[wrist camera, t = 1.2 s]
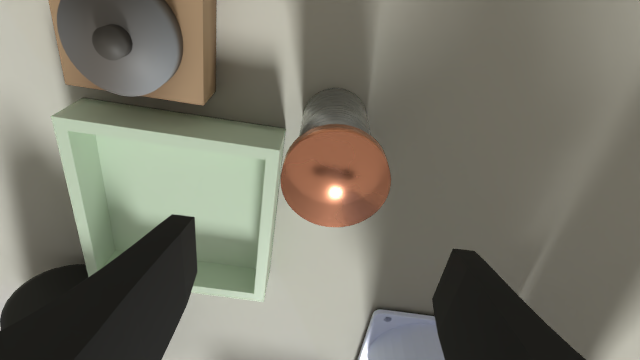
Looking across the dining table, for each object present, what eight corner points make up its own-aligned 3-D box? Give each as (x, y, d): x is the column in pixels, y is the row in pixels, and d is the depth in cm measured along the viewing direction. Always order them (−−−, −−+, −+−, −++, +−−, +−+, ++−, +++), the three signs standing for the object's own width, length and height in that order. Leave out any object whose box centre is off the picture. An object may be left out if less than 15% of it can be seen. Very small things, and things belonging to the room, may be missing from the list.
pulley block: (216, -24, 16) (188, -18, 13) (215, 91, 18) (192, 118, 15) (71, -48, 16) (6, -49, 12) (90, 71, 18) (41, 96, 15)
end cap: (54, 246, 24) (-34, 338, 18) (165, 270, 25) (115, 366, 19) (65, 340, 29) (-1, 436, 23) (158, 358, 30) (116, 454, 24)
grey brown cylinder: (382, 87, 18) (403, 142, 13) (365, 159, 20) (376, 233, 15) (300, 73, 18) (286, 124, 13) (291, 148, 20) (275, 219, 15)
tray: (285, 128, 19) (279, 150, 17) (269, 271, 25) (263, 301, 22) (83, 97, 19) (50, 116, 17) (110, 250, 24) (89, 279, 22)
